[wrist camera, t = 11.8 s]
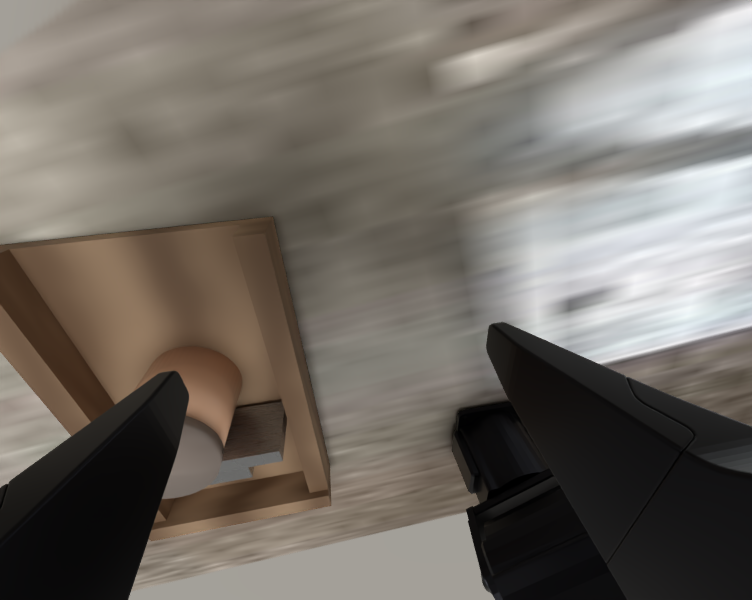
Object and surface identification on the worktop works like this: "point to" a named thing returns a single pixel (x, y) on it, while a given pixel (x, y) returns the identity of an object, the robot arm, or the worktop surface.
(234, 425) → the pusher
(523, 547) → the robot arm
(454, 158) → the worktop surface
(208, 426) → the jar
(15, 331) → the tray
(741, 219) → the worktop surface
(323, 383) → the worktop surface
